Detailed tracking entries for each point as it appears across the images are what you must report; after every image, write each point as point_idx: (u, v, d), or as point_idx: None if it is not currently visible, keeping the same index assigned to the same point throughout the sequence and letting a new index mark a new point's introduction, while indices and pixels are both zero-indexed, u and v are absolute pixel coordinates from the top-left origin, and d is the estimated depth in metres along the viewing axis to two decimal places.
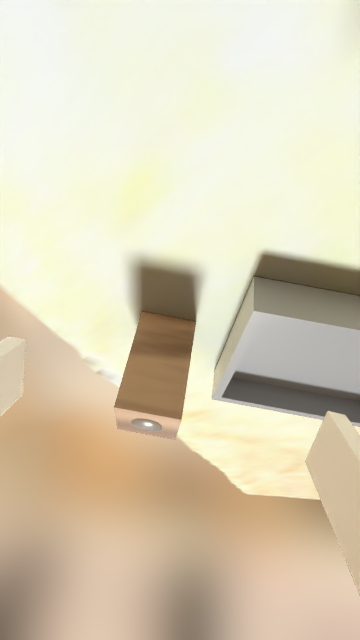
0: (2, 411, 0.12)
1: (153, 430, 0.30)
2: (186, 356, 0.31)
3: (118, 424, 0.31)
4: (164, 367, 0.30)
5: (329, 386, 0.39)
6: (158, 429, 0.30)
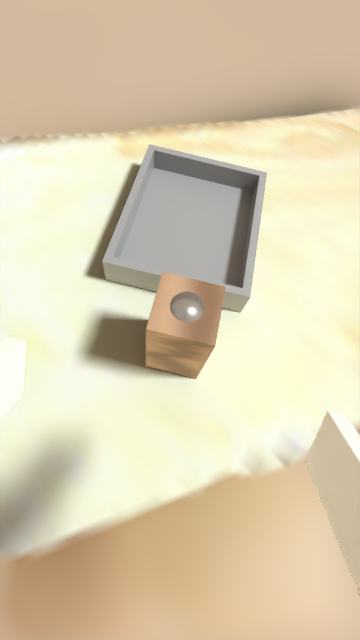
0: (2, 411, 0.12)
1: (200, 302, 0.28)
2: None
3: (198, 340, 0.26)
4: None
5: (233, 221, 0.46)
6: (194, 296, 0.28)
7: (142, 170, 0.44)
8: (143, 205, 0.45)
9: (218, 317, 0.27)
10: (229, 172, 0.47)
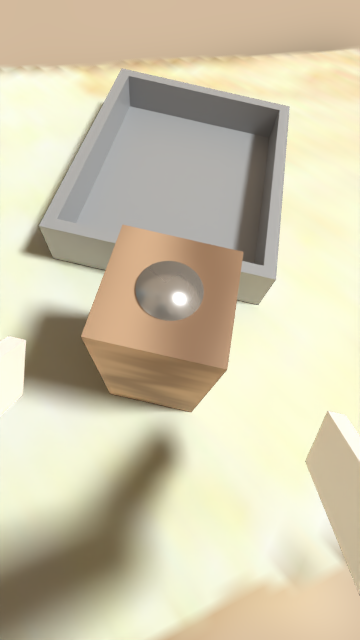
0: (2, 411, 0.12)
1: (194, 280, 0.14)
2: None
3: (191, 357, 0.12)
4: None
5: (242, 176, 0.32)
6: (184, 269, 0.14)
7: (110, 100, 0.30)
8: (112, 154, 0.31)
9: (231, 310, 0.14)
10: (236, 108, 0.33)
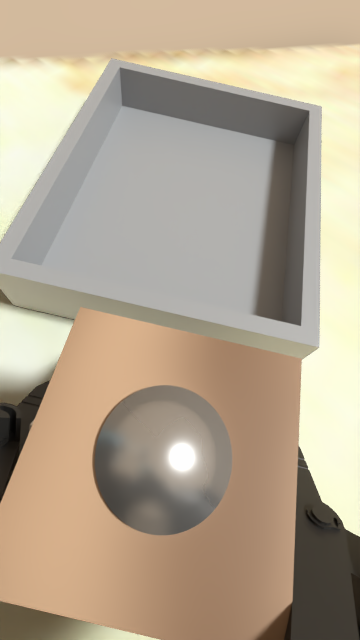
0: None
1: (213, 430, 0.07)
2: None
3: (209, 639, 0.06)
4: None
5: (263, 193, 0.25)
6: (193, 404, 0.07)
7: (94, 97, 0.23)
8: (98, 165, 0.25)
9: (289, 498, 0.07)
10: (255, 108, 0.26)
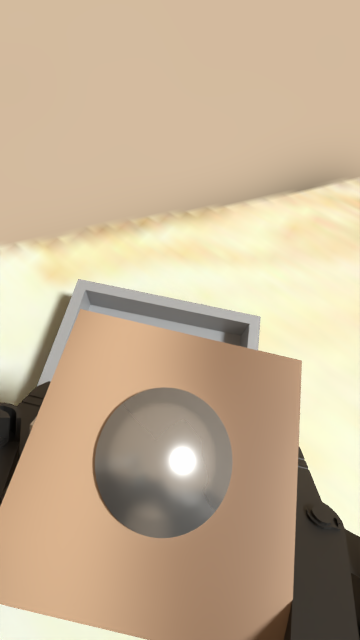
0: None
1: (213, 433, 0.07)
2: None
3: None
4: None
5: None
6: (193, 407, 0.07)
7: (63, 333, 0.28)
8: None
9: (289, 501, 0.07)
10: (203, 317, 0.30)
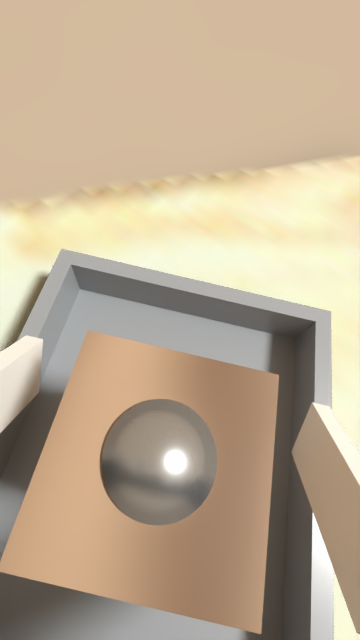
0: (21, 408, 0.13)
1: (202, 438, 0.08)
2: None
3: (196, 608, 0.07)
4: None
5: None
6: (184, 415, 0.09)
7: (32, 328, 0.18)
8: (41, 402, 0.19)
9: (265, 495, 0.08)
10: (245, 311, 0.20)
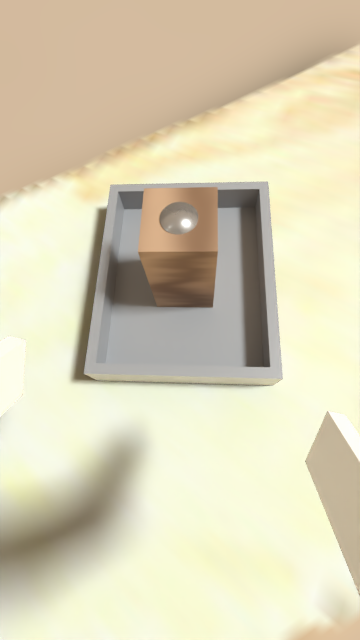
0: (2, 411, 0.12)
1: (191, 209, 0.24)
2: None
3: (197, 249, 0.23)
4: None
5: (237, 258, 0.35)
6: (184, 205, 0.25)
7: (108, 225, 0.34)
8: (121, 267, 0.36)
9: (215, 221, 0.24)
10: (219, 194, 0.36)
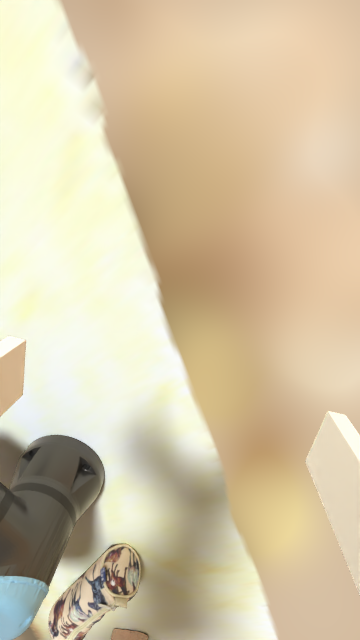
0: (2, 411, 0.12)
1: None
2: None
3: None
4: None
5: None
6: None
7: None
8: None
9: None
10: None
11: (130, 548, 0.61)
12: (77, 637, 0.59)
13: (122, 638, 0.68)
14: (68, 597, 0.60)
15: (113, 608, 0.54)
